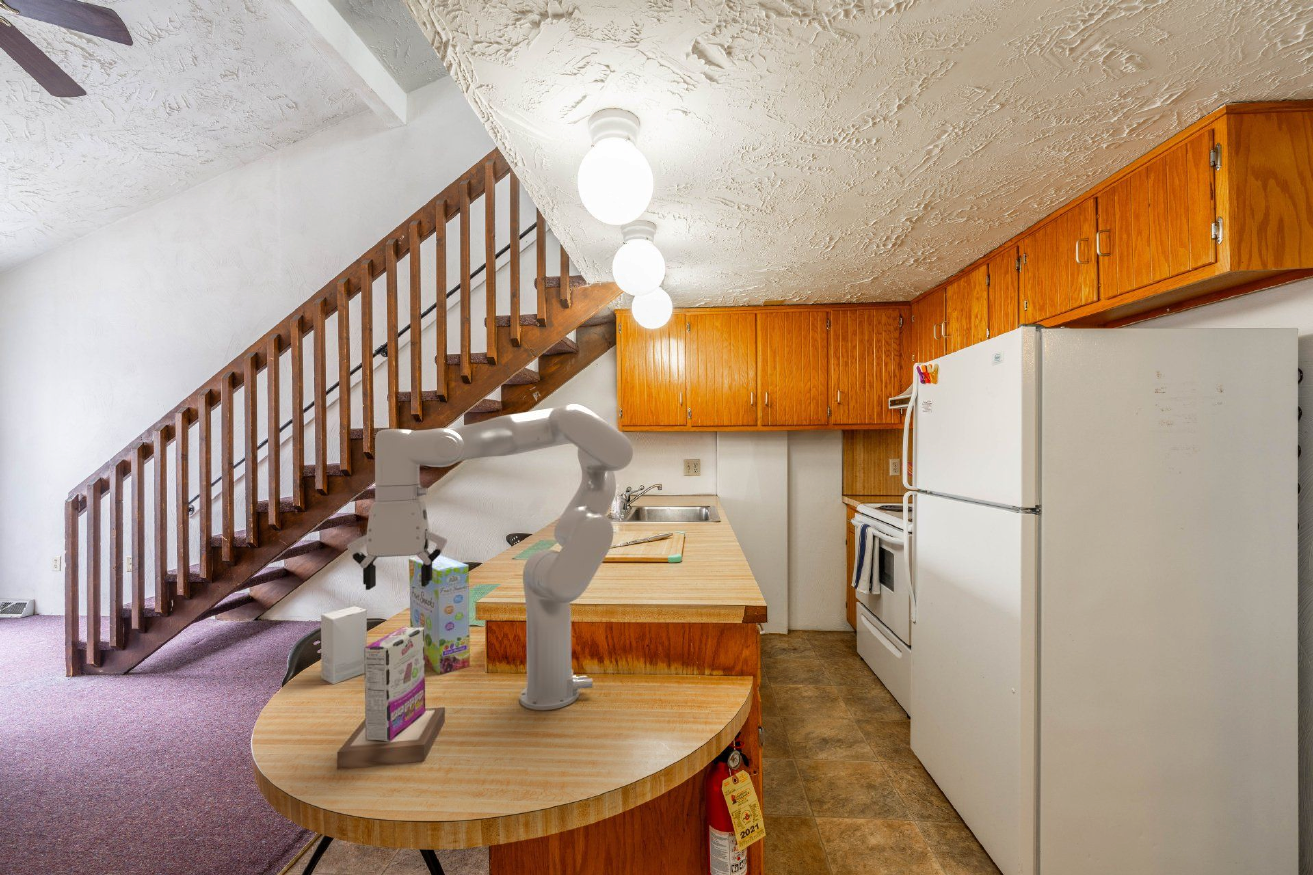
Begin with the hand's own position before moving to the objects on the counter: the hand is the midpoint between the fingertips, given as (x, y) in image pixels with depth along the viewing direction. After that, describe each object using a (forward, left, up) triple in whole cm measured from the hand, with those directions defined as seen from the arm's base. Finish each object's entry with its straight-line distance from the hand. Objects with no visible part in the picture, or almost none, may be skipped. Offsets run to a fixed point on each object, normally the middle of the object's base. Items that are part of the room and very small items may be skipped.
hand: (398, 586), depth 100 cm
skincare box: (+23, -34, -29) cm, 50 cm away
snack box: (+3, -41, -29) cm, 50 cm away
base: (0, +1, -28) cm, 28 cm away
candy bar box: (0, +1, -26) cm, 26 cm away
